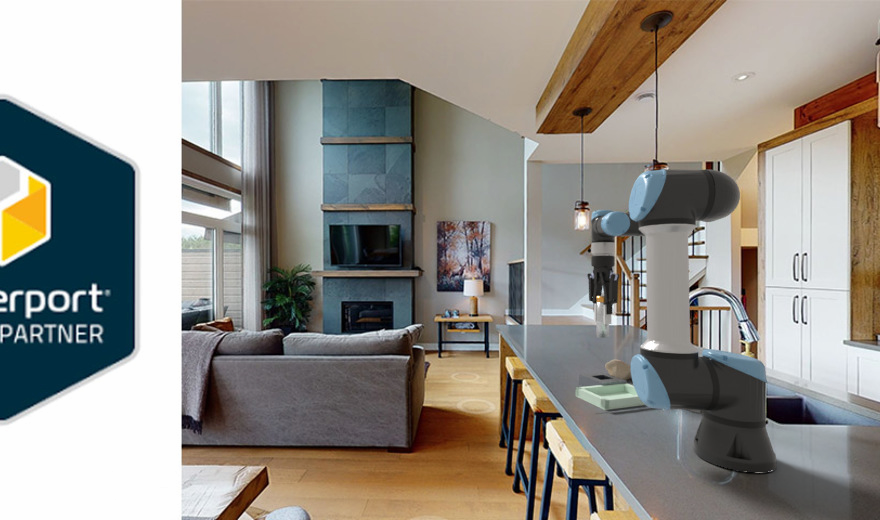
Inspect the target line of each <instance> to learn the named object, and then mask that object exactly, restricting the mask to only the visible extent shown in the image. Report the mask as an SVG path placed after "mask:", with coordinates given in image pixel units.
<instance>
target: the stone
mask: <svg viewBox="0 0 880 520" xmlns="http://www.w3.org/2000/svg"><path fill="white" fill-rule="evenodd" d="M604 368H605V369H606V371H607V374H609V375H612V376H615V377H618V378H621V379H623V380H626V381H627V380H630V379H631V380H632V376H631V364H630V365H629V364H628V363H626V362H625V361H623V360H620V359H611V360H610V361H608V362H606V363H605V366H604Z"/></svg>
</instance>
